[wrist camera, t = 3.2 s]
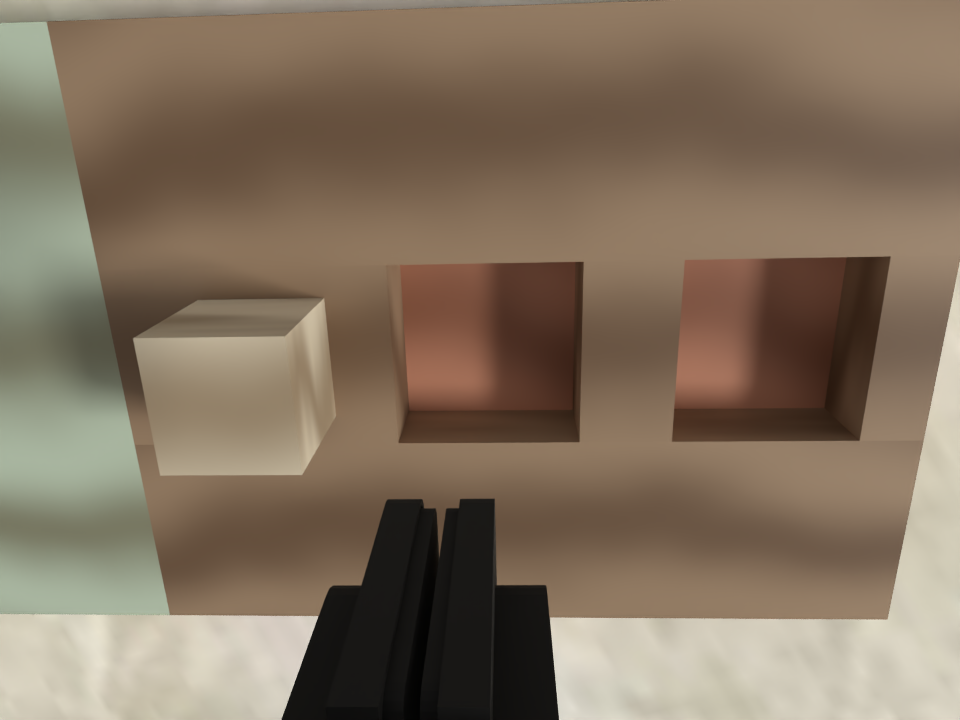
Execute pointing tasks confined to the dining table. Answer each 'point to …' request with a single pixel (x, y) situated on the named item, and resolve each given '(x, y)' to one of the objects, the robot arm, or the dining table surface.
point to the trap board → (488, 295)
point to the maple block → (238, 386)
